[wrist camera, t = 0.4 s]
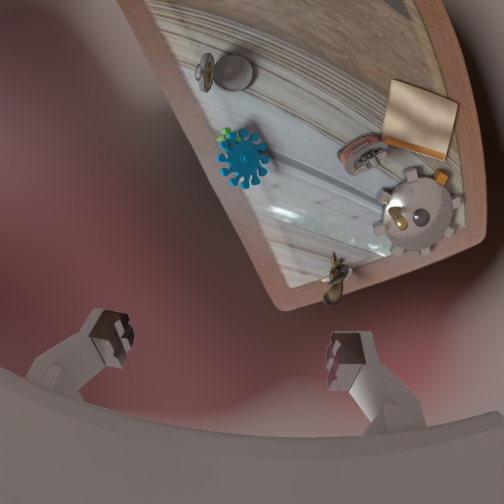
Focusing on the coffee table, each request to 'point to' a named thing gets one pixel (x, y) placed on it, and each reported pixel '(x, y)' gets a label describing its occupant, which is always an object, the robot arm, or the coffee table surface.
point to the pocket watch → (224, 73)
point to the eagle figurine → (335, 282)
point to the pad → (418, 120)
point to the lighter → (362, 154)
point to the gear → (241, 157)
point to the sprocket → (416, 212)
